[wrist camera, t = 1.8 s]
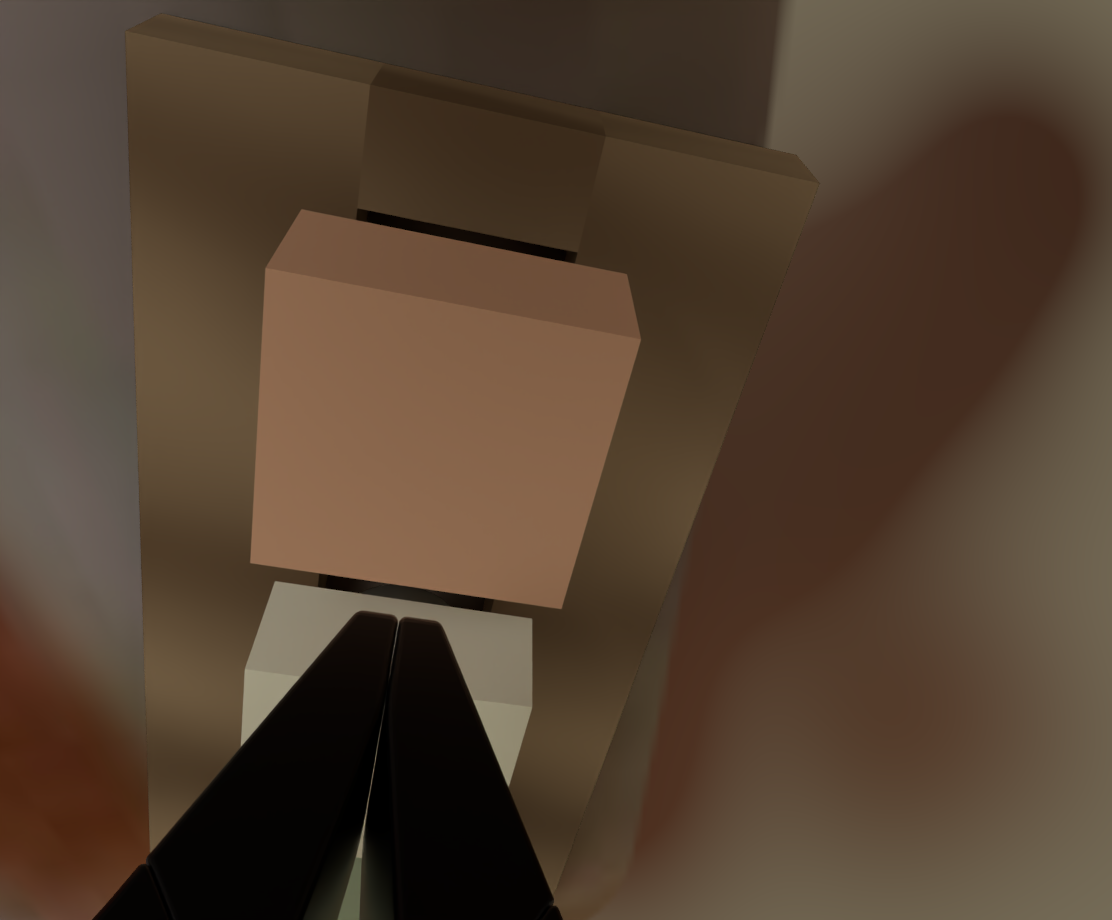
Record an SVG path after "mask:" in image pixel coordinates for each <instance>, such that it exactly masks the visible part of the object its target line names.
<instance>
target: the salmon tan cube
mask: <svg viewBox="0 0 1112 920" xmlns="http://www.w3.org/2000/svg"><path fill="white" fill-rule="evenodd" d="M640 342H641V336H640V332H639V327H638V322H637V318H636V313H635V309H634V304H633V299H632V295H631V290H630V286H629V281H628V277H627V274H624V273H619V272H614V271H609V270H604V269H599V268H593V267H588V266H583V265H578V264H573V263H568V262H563V261H558V260H553V259H548V258H543V257H538V256H533V255H528V254H523V253H518V252H513V251H508V250H503V249H498V248H493V247H488V246H483V245H478V244H473V243H468V242H463V241H458V240H453V239H448V238H443V237H438V236H433V235H428V234H423V233H418V232H413V231H408V230H403V229H398V228H393V227H388V226H383V225H378V224H373V223H368V222H363V221H358V220H353V219H348V218H343V217H338V216H333V215H328V214H323V213H318V212H313V211H308V210H303V209H301V211H300V212H299V214H298V216H297V217H296V219H295V221H294V222H293V224H292V225H291V227H290V229H289V230H288V232H287V234H286V235H285V237H284V238H283V240H282V242H281V243H280V245H279V247H278V248H277V250H276V252H275V253H274V255H273V256H272V258H271V260H270V261H269V263H268V265H267V266H266V268H265V286H264V306H263V325H262V344H261V364H260V383H259V403H258V422H257V442H256V461H255V480H254V500H253V519H252V539H251V558H250V563H253V564H260V565H266V566H273V567H280V568H287V569H294V570H300V571H307V572H314V573H321V574H327V575H334V576H341V577H348V578H354V579H361V580H368V581H375V582H381V583H388V584H395V585H402V586H408V587H415V588H422V589H429V590H435V591H442V592H449V593H456V594H462V595H469V596H476V597H483V598H490V599H496V600H503V601H510V602H517V603H523V604H530V605H537V606H544V607H550V608H557V609H562V605H563V602H564V599H565V595H566V592H567V588H568V585H569V582H570V578H571V575H572V572H573V568H574V565H575V561H576V558H577V555H578V551H579V548H580V544H581V541H582V538H583V534H584V531H585V528H586V524H587V521H588V517H589V514H590V511H591V507H592V504H593V501H594V497H595V494H596V490H597V487H598V484H599V480H600V477H601V473H602V470H603V467H604V463H605V460H606V457H607V453H608V450H609V446H610V443H611V440H612V436H613V433H614V430H615V426H616V423H617V419H618V416H619V413H620V409H621V406H622V403H623V399H624V396H625V392H626V389H627V386H628V382H629V379H630V375H631V372H632V369H633V365H634V362H635V359H636V355H637V352H638V348H639V345H640Z"/></svg>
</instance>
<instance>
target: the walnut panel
mask: <svg viewBox="0 0 1112 920" xmlns="http://www.w3.org/2000/svg"><path fill="white" fill-rule="evenodd" d="M125 45H126V78H127V110H128V143H129V176H130V209H131V242H132V275H133V307H134V340H135V373H136V406H137V439H138V472H139V505H140V537H141V570H142V603H143V636H144V669H145V702H146V734H147V767H148V800H149V833H150V853H151V852H152V850H153V849H154V848H155V847H156V846H157V845H158V843H159V842H160V841H161V840H162V839H163V838H164V836H165V835H166V834H167V833H168V832H169V831H170V829H171V828H172V827H173V826H174V825H175V823H176V822H177V821H178V820H179V819H180V818H181V816H182V815H183V814H184V813H185V812H186V811H187V809H188V808H189V807H190V806H191V805H192V804H193V802H194V801H195V800H196V799H197V798H198V796H199V795H200V794H201V793H202V792H203V791H204V789H205V788H206V787H207V786H208V785H209V784H210V782H211V781H212V780H213V779H214V778H215V777H216V775H217V774H218V773H219V772H220V771H221V769H222V768H223V767H224V766H225V765H226V764H227V762H228V761H229V760H230V759H231V758H232V757H233V755H234V754H235V753H236V752H237V751H238V750H239V748H240V747H241V733H242V713H243V694H244V674H245V667H246V664H247V661H248V658H249V655H250V652H251V650H252V647H253V644H254V641H255V638H256V635H257V632H258V629H259V626H260V623H261V620H262V618H263V615H264V612H265V609H266V606H267V603H268V600H269V597H270V594H271V591H272V588H273V586H274V583H275V581H277V582H284V583H291V584H298V585H305V586H312V587H319V588H325V589H326V584H327V574H321V573H314V572H307V571H300V570H294V569H287V568H280V567H273V566H266V565H260V564H253V563H250V558H251V539H252V519H253V500H254V480H255V461H256V442H257V422H258V403H259V383H260V364H261V344H262V325H263V306H264V286H265V268H266V266H267V265H268V263H269V261H270V260H271V258H272V256H273V255H274V253H275V252H276V250H277V248H278V247H279V245H280V243H281V242H282V240H283V238H284V237H285V235H286V234H287V232H288V230H289V229H290V227H291V225H292V224H293V222H294V221H295V219H296V217H297V216H298V214H299V212H300V211H301V209H303V210H308V211H313V212H318V213H323V214H328V215H333V216H338V217H343V218H348V219H353V220H358V221H363V222H367V214H368V210H369V211H374V212H378V213H383V214H388V215H393V216H398V217H403V218H408V219H413V220H418V221H423V222H428V223H433V224H438V225H443V226H448V227H453V228H458V229H463V230H468V231H473V232H478V233H483V234H488V235H493V236H498V237H503V238H508V239H513V240H518V241H523V242H528V243H533V244H538V245H542V246H547V247H552V248H557V249H562V250H567V252H566V256H565V261H564V262H568V263H573V264H578V265H583V266H588V267H593V268H599V269H604V270H609V271H614V272H619V273H624V274H627V277H628V281H629V286H630V290H631V295H632V299H633V304H634V309H635V313H636V318H637V322H638V327H639V332H640V336H641V342H640V345H639V348H638V352H637V355H636V359H635V362H634V365H633V369H632V372H631V375H630V379H629V382H628V386H627V389H626V392H625V396H624V399H623V403H622V406H621V409H620V413H619V416H618V419H617V423H616V426H615V430H614V433H613V436H612V440H611V443H610V446H609V450H608V453H607V457H606V460H605V463H604V467H603V470H602V473H601V477H600V480H599V484H598V487H597V490H596V494H595V497H594V501H593V504H592V507H591V511H590V514H589V517H588V521H587V524H586V528H585V531H584V534H583V538H582V541H581V544H580V548H579V551H578V555H577V558H576V561H575V565H574V568H573V572H572V575H571V578H570V582H569V585H568V588H567V592H566V595H565V599H564V602H563V605H562V609H557V608H550V607H544V606H537V605H530V604H523V603H517V602H510V601H503V600H496V599H490V598H485V602H484V606H483V610H482V611H483V612H490V613H497V614H504V615H510V616H517V617H524V618H531V619H532V710H531V713H530V717H529V720H528V724H527V727H526V730H525V734H524V737H523V741H522V744H521V747H520V751H519V754H518V757H517V761H516V764H515V768H514V771H513V774H512V778H511V781H510V784H509V790H510V792H511V794H512V797H513V799H514V802H515V804H516V807H517V809H518V812H519V814H520V817H521V819H522V821H523V824H524V826H525V829H526V831H527V834H528V836H529V839H530V841H531V844H532V846H533V848H534V851H535V853H536V856H537V858H538V861H539V863H540V866H541V868H542V870H543V873H544V875H545V878H546V880H547V883H548V885H549V888H550V890H551V893H552V895H553V897H554V894H555V891H556V889H557V886H558V883H559V880H560V878H561V875H562V872H563V870H564V867H565V864H566V862H567V859H568V856H569V854H570V851H571V848H572V846H573V843H574V840H575V838H576V835H577V832H578V830H579V827H580V824H581V822H582V819H583V816H584V814H585V811H586V808H587V805H588V803H589V800H590V797H591V795H592V792H593V789H594V787H595V784H596V781H597V779H598V776H599V773H600V771H601V768H602V765H603V763H604V760H605V757H606V755H607V752H608V749H609V747H610V744H611V741H612V739H613V736H614V733H615V730H616V728H617V725H618V722H619V720H620V717H621V714H622V712H623V709H624V706H625V704H626V701H627V698H628V696H629V693H630V690H631V688H632V685H633V682H634V680H635V677H636V674H637V672H638V669H639V666H640V664H641V661H642V658H643V656H644V653H645V650H646V647H647V645H648V642H649V639H650V637H651V634H652V631H653V629H654V626H655V623H656V621H657V618H658V615H659V613H660V610H661V607H662V605H663V602H664V599H665V597H666V594H667V591H668V589H669V586H670V583H671V581H672V578H673V575H674V572H675V570H676V567H677V564H678V562H679V559H680V556H681V554H682V551H683V548H684V546H685V543H686V540H687V538H688V535H689V532H690V530H691V527H692V524H693V522H694V519H695V516H696V514H697V511H698V508H699V506H700V503H701V500H702V497H703V495H704V492H705V489H706V487H707V484H708V481H709V479H710V476H711V473H712V471H713V468H714V465H715V462H716V460H717V457H718V454H719V452H720V449H721V447H722V444H723V441H724V438H725V435H726V433H727V430H728V428H729V425H730V422H731V420H732V417H733V414H734V412H735V409H736V406H737V404H738V401H739V398H740V396H741V393H742V390H743V388H744V385H745V382H746V380H747V377H748V374H749V372H750V369H751V366H752V364H753V361H754V358H755V355H756V353H757V350H758V347H759V345H760V342H761V339H762V337H763V334H764V331H765V329H766V326H767V323H768V321H769V318H770V315H771V313H772V310H773V307H774V305H775V302H776V299H777V297H778V294H779V291H780V289H781V286H782V283H783V280H784V278H785V275H786V273H787V270H788V267H789V264H790V262H791V259H792V256H793V253H794V251H795V248H796V246H797V243H798V240H799V237H800V235H801V232H802V230H803V227H804V224H805V222H806V219H807V216H808V214H809V211H810V208H811V206H812V203H813V200H814V198H815V195H816V192H817V189H818V187H819V182H818V181H817V179H816V178H815V177H814V176H813V175H812V173H811V172H810V171H809V170H808V168H807V167H806V166H805V165H804V164H803V163H802V161H801V160H800V159H799V158H798V156H797V155H794V154H790V153H785V152H780V151H776V150H772V149H767V148H763V147H758V146H754V145H749V144H745V143H740V142H736V141H732V140H727V139H723V138H718V137H714V136H709V135H705V134H700V133H696V132H691V131H687V130H682V129H678V128H673V127H669V126H664V125H660V124H655V123H651V122H646V121H642V120H637V119H633V118H628V117H624V116H619V115H615V114H610V113H606V112H601V111H597V110H592V109H588V108H583V107H579V106H574V105H570V104H566V103H561V102H557V101H552V100H548V99H543V98H539V97H534V96H530V95H525V94H521V93H516V92H512V91H507V90H503V89H498V88H494V87H489V86H485V85H480V84H476V83H471V82H467V81H462V80H458V79H453V78H449V77H444V76H440V75H435V74H431V73H426V72H422V71H417V70H413V69H408V68H404V67H400V66H395V65H391V64H386V63H382V62H377V61H373V60H368V59H364V58H359V57H355V56H350V55H346V54H341V53H337V52H332V51H328V50H323V49H319V48H314V47H310V46H305V45H301V44H296V43H292V42H287V41H283V40H278V39H274V38H269V37H265V36H260V35H256V34H251V33H247V32H243V31H238V30H234V29H229V28H225V27H220V26H216V25H211V24H207V23H202V22H198V21H193V20H189V19H184V18H180V17H175V16H171V15H166V14H162V13H161V14H159V15H157V16H155V17H153V18H151V19H149V20H147V21H145V22H143V23H141V24H138V25H136V26H134V27H132V28H130V29H128V30H126V31H125Z"/></svg>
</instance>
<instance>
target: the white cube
mask: <svg viewBox="0 0 1112 920" xmlns="http://www.w3.org/2000/svg"><path fill="white" fill-rule="evenodd" d="M361 610H364V611H372V612H379V613H386V614H392V615H395V616H396V617H397V619H398V623H399V621H400V620H401V618H403V617H414V618H421V619H428V620H435V621H438V622H439V623H440V624H441V625H442V626H443V628H444V630H445V633H446V635H447V638H448V640H449V642H450V645H451V647H452V650H453V652H454V655H455V657H456V660H457V662H458V665H459V667H460V669H461V672H462V674H463V677H464V679H465V682H466V684H467V687H468V689H469V692H470V694H471V696H472V699H473V701H474V704H475V706H476V709H477V711H478V714H479V716H480V718H481V721H482V723H483V726H484V728H485V731H486V733H487V736H488V738H489V741H490V743H491V745H492V748H493V750H494V753H495V755H496V758H497V760H498V763H499V765H500V768H501V770H502V772H503V775H504V777H505V780H506V782H507V785H508V787H509V784H510V781H511V778H512V774H513V771H514V768H515V764H516V761H517V757H518V754H519V751H520V747H521V744H522V741H523V737H524V734H525V730H526V727H527V724H528V720H529V717H530V713H531V710H532V619H531V618H524V617H517V616H510V615H504V614H497V613H490V612H483V611H476V610H469V609H462V608H456V607H450V606H449V605H448V604H447V603H446V602H445V601H444V600H442V599H441V598H440V597H438V596H436V595H435V594H433V593H431V592H429V591H426V590H424V589H421V588H415V587H408V586H402V585H384V586H379V587H374V588H371V589H368V590H366V591H364V592H362V593H353V592H346V591H339V590H332V589H325V588H319V587H312V586H305V585H298V584H291V583H284V582H277V581H275V583H274V586H273V588H272V591H271V594H270V597H269V600H268V603H267V606H266V609H265V612H264V615H263V618H262V620H261V623H260V626H259V629H258V632H257V635H256V638H255V641H254V644H253V647H252V650H251V652H250V655H249V658H248V661H247V664H246V667H245V674H244V694H243V713H242V733H241V746H242V745H243V744H244V742H245V741H246V740H247V739H248V738H249V737H250V735H251V734H252V733H253V732H254V731H255V730H256V728H257V727H258V726H259V725H260V724H261V723H262V721H263V720H264V719H265V718H266V717H267V715H268V714H269V713H270V712H271V711H272V710H273V708H274V707H275V706H276V705H277V704H278V703H279V701H280V700H281V699H282V698H283V697H284V696H285V694H286V693H287V692H288V691H289V690H290V688H291V687H292V686H293V685H294V684H295V683H296V681H297V680H298V679H299V678H300V677H301V676H302V674H303V673H304V672H305V671H306V670H307V669H308V667H309V666H310V665H311V664H312V663H313V661H314V660H315V659H316V658H317V657H318V656H319V654H320V653H321V652H322V651H323V650H324V649H325V647H326V646H327V645H328V644H329V643H330V642H331V640H332V639H333V638H334V637H335V636H336V634H337V633H338V632H339V631H340V630H341V629H342V627H343V626H344V625H345V624H346V623H347V622H348V620H349V619H350V618H351V617H352V616H353V615H354V614H355V613H356V612H358V611H361ZM397 629H398V626H397ZM396 635H397V632H396ZM395 641H396V639H395ZM394 647H395V645H394ZM393 652H394V651H393ZM392 658H393V657H392ZM391 664H392V663H391ZM390 670H391V669H390ZM389 676H390V675H389ZM388 682H389V681H388ZM379 735H380V734H379ZM378 741H379V740H378ZM377 747H378V746H377ZM376 753H377V752H376ZM375 759H376V758H375ZM374 765H375V763H374ZM373 771H374V769H373ZM372 777H373V775H372ZM371 783H372V781H371ZM370 789H371V787H370ZM369 795H370V793H369ZM368 801H369V798H368ZM367 807H368V804H367ZM366 813H367V810H366ZM365 821H366V815H365V820H364V825H363V830H362V835H361V840H360V843H359V847H358V851H357V855H356V857H357V858H362V848H363V836H364V828H365Z"/></svg>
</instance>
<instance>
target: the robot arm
mask: <svg viewBox="0 0 1112 920" xmlns="http://www.w3.org/2000/svg"><path fill="white" fill-rule="evenodd" d="M397 626H398V629H397ZM396 632H397V635H396ZM395 639H396V641H395ZM394 645H395V647H394ZM393 651H394V652H393ZM392 657H393V658H392ZM391 663H392V664H391ZM390 669H391V670H390ZM389 675H390V676H389ZM388 681H389V682H388ZM379 734H380V735H379ZM378 740H379V741H378ZM377 746H378V747H377ZM376 752H377V753H376ZM375 758H376V759H375ZM374 763H375V765H374ZM373 769H374V771H373ZM372 775H373V777H372ZM371 781H372V783H371ZM370 787H371V789H370ZM369 793H370V795H369ZM368 798H369V801H368ZM367 804H368V807H367ZM366 810H367V813H366ZM365 815H366V821H365V828H364V836H363V848H362V863H361V887H360V911H359V920H563V918H562V916H561V914H560V911H559V909H558V907H556V906H553V903H554V897H553V895H552V893H551V890H550V888H549V885H548V883H547V880H546V878H545V875H544V873H543V870H542V868H541V866H540V863H539V861H538V858H537V856H536V853H535V851H534V848H533V846H532V844H531V841H530V839H529V836H528V834H527V831H526V829H525V826H524V824H523V821H522V819H521V817H520V814H519V812H518V809H517V807H516V804H515V802H514V799H513V797H512V794H511V792H510V790H509V787H508V785H507V782H506V780H505V777H504V775H503V772H502V770H501V768H500V765H499V763H498V760H497V758H496V755H495V753H494V750H493V748H492V745H491V743H490V741H489V738H488V736H487V733H486V731H485V728H484V726H483V723H482V721H481V718H480V716H479V714H478V711H477V709H476V706H475V704H474V701H473V699H472V696H471V694H470V692H469V689H468V687H467V684H466V682H465V679H464V677H463V674H462V672H461V669H460V667H459V665H458V662H457V660H456V657H455V655H454V652H453V650H452V647H451V645H450V642H449V640H448V638H447V635H446V633H445V630H444V628H443V626H442V625H441V624H440V623H439V622H438V621H435V620H428V619H421V618H414V617H403V618H401V620H400V621H399V623H398V619H397V617H396V616H395V615H392V614H386V613H379V612H372V611H364V610H361V611H358V612H356V613H355V614H354V615H353V616H352V617H351V618H350V619H349V620H348V622H347V623H346V624H345V625H344V626H343V627H342V629H341V630H340V631H339V632H338V633H337V634H336V636H335V637H334V638H333V639H332V640H331V642H330V643H329V644H328V645H327V646H326V647H325V649H324V650H323V651H322V652H321V653H320V654H319V656H318V657H317V658H316V659H315V660H314V661H313V663H312V664H311V665H310V666H309V667H308V669H307V670H306V671H305V672H304V673H303V674H302V676H301V677H300V678H299V679H298V680H297V681H296V683H295V684H294V685H293V686H292V687H291V688H290V690H289V691H288V692H287V693H286V694H285V696H284V697H283V698H282V699H281V700H280V701H279V703H278V704H277V705H276V706H275V707H274V708H273V710H272V711H271V712H270V713H269V714H268V715H267V717H266V718H265V719H264V720H263V721H262V723H261V724H260V725H259V726H258V727H257V728H256V730H255V731H254V732H253V733H252V734H251V735H250V737H249V738H248V739H247V740H246V741H245V742H244V744H243V745H242V746H241V747H240V748H239V750H238V751H237V752H236V753H235V754H234V755H233V757H232V758H231V759H230V760H229V761H228V762H227V764H226V765H225V766H224V767H223V768H222V769H221V771H220V772H219V773H218V774H217V775H216V777H215V778H214V779H213V780H212V781H211V782H210V784H209V785H208V786H207V787H206V788H205V789H204V791H203V792H202V793H201V794H200V795H199V796H198V798H197V799H196V800H195V801H194V802H193V804H192V805H191V806H190V807H189V808H188V809H187V811H186V812H185V813H184V814H183V815H182V816H181V818H180V819H179V820H178V821H177V822H176V823H175V825H174V826H173V827H172V828H171V829H170V831H169V832H168V833H167V834H166V835H165V836H164V838H163V839H162V840H161V841H160V842H159V843H158V845H157V846H156V847H155V848H154V849H153V850H152V852H151V853H150V854H149V855H148V856H147V859H146V864H141V865H139V866H138V867H137V869H136V870H135V871H134V872H133V873H132V874H131V876H130V877H129V878H128V879H127V880H126V882H125V883H124V884H123V885H122V886H121V887H120V889H119V890H118V891H117V892H116V893H115V894H114V896H113V897H112V898H111V899H110V900H109V901H108V903H107V904H106V905H105V906H104V907H103V908H102V909H101V910H100V911H99V913H98V914H97V915H96V916H95V917H94V918H93V919H92V920H338V916H339V913H340V909H341V906H342V903H343V899H344V896H345V892H346V889H347V886H348V882H349V879H350V876H351V872H352V869H353V865H354V862H355V858H356V855H357V851H358V847H359V843H360V840H361V835H362V830H363V825H364V820H365Z"/></svg>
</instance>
